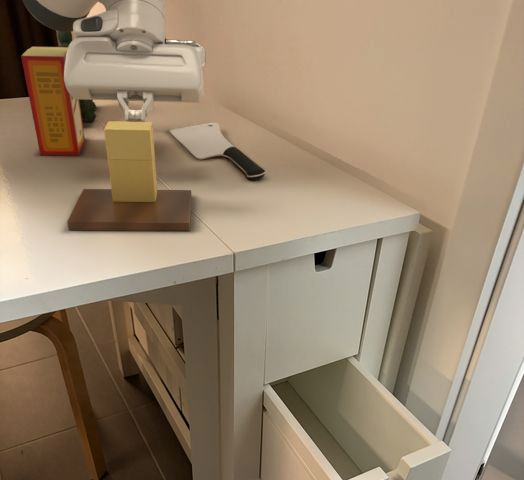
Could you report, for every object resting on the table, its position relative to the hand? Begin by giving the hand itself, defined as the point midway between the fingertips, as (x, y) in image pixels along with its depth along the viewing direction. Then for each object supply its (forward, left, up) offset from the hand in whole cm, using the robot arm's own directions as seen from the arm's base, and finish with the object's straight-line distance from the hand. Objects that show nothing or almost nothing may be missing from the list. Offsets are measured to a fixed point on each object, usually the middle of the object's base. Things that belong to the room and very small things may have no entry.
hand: (135, 124), depth 81 cm
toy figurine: (-17, +42, -10) cm, 46 cm away
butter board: (0, -10, -10) cm, 14 cm away
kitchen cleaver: (+12, +18, -10) cm, 24 cm away
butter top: (0, -7, -2) cm, 7 cm away
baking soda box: (-16, +20, -10) cm, 27 cm away
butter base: (0, -7, -8) cm, 11 cm away
